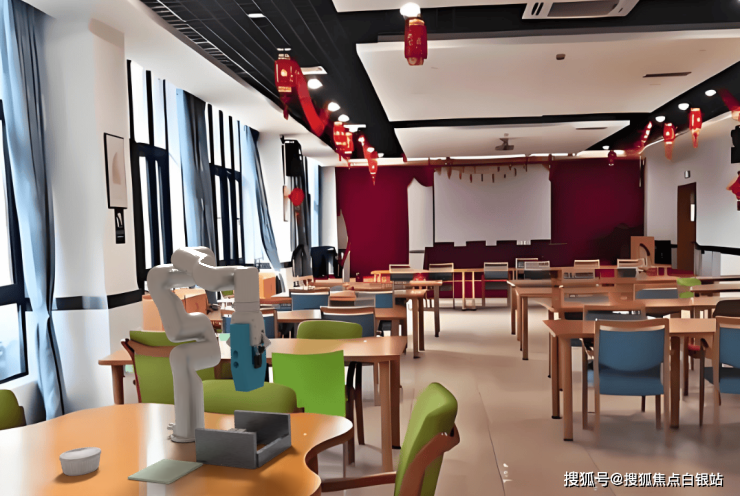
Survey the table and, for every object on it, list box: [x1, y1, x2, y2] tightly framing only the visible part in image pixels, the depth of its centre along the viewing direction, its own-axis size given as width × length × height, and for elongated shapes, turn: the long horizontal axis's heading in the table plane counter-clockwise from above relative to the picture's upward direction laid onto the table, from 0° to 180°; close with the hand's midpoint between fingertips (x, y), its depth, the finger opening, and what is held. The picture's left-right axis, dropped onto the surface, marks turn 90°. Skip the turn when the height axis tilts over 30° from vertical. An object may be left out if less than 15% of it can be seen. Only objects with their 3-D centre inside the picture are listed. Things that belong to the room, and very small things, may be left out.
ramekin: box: [58, 446, 102, 477], centre depth 181 cm, size 11×11×5 cm
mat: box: [127, 458, 204, 485], centre depth 177 cm, size 14×15×1 cm
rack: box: [194, 409, 292, 470], centre depth 190 cm, size 20×22×10 cm
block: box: [229, 319, 268, 393], centre depth 188 cm, size 12×5×20 cm, turn 153°
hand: (249, 366), depth 188 cm, fingers closed on block, 5 cm apart
